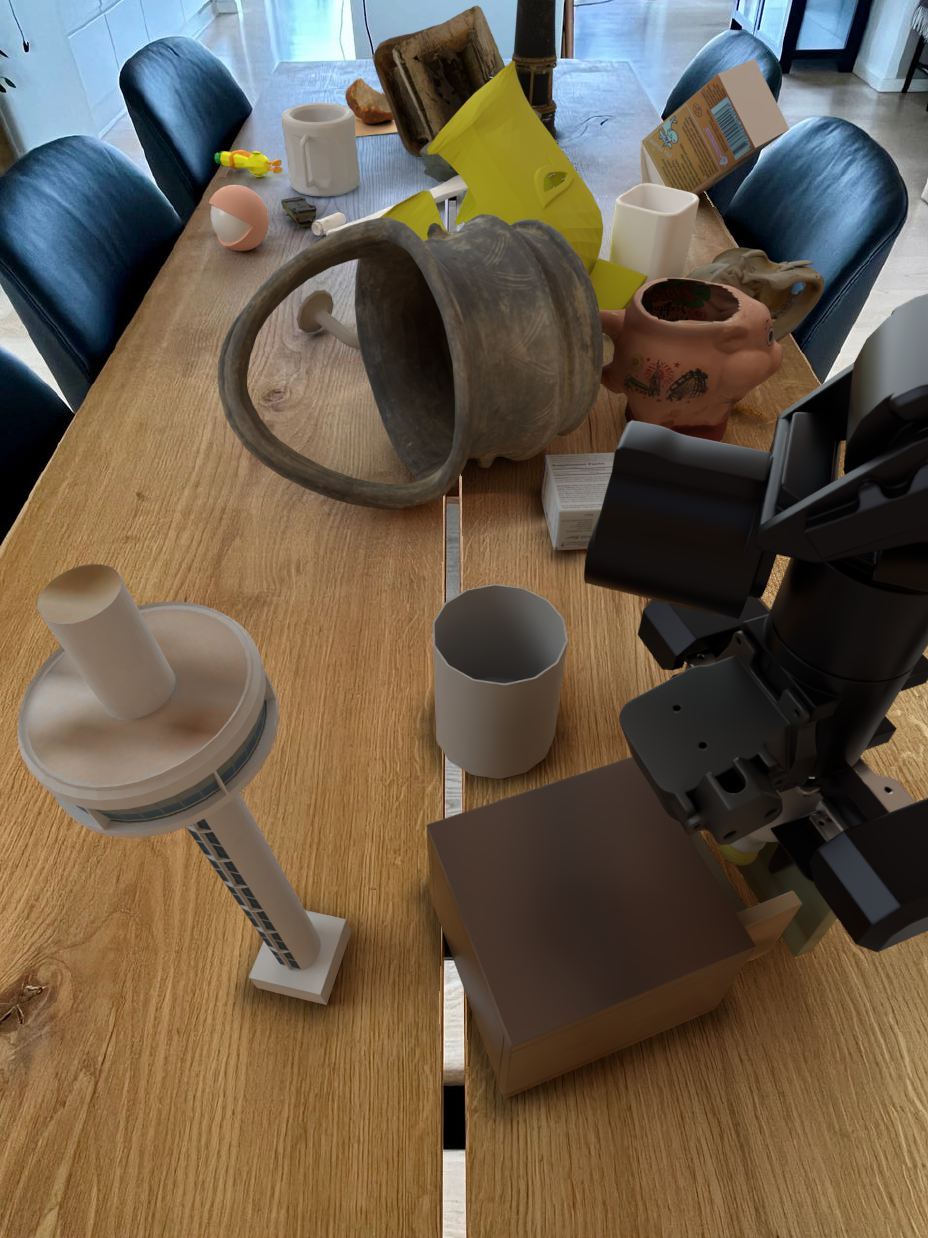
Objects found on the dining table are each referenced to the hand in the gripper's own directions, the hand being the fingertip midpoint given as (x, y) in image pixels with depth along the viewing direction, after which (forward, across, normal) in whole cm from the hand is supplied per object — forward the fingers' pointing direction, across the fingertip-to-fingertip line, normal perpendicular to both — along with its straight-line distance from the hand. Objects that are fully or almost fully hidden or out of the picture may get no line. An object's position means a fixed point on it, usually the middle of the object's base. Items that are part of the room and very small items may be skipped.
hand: (748, 826), depth 44 cm
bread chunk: (+10, -148, +24) cm, 151 cm away
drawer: (+7, 0, 0) cm, 7 cm away
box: (+5, -30, +7) cm, 31 cm away
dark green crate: (+5, -109, 0) cm, 109 cm away
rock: (+9, -116, +31) cm, 121 cm away
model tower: (+8, -5, -24) cm, 26 cm away
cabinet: (+8, 0, -10) cm, 13 cm away
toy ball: (+8, -102, -10) cm, 103 cm away
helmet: (-11, -81, +10) cm, 82 cm away
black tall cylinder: (+8, -132, +46) cm, 141 cm away
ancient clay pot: (-2, -49, +10) cm, 50 cm away
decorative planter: (+8, -44, +21) cm, 50 cm away
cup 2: (+8, -63, +29) cm, 70 cm away
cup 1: (+8, -16, -8) cm, 20 cm away
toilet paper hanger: (+9, -77, +4) cm, 77 cm away
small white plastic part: (+5, -103, +3) cm, 103 cm away
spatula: (+5, -106, +14) cm, 107 cm away
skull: (+1, -50, +38) cm, 63 cm away
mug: (+8, -120, +6) cm, 120 cm away
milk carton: (-6, -92, +61) cm, 110 cm away
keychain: (+8, -45, +30) cm, 55 cm away
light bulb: (+3, 0, 0) cm, 3 cm away
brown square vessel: (-4, -125, +30) cm, 128 cm away
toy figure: (+6, -126, 0) cm, 126 cm away
